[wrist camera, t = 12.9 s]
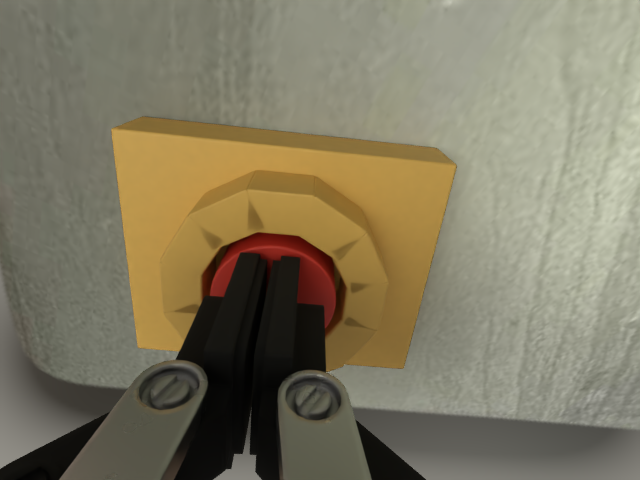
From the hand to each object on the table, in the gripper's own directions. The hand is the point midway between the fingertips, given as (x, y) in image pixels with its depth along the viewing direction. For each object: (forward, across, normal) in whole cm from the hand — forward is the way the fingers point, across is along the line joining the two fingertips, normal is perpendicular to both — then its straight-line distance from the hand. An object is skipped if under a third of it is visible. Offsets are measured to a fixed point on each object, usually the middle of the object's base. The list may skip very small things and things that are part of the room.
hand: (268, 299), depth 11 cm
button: (+2, 0, 0) cm, 2 cm away
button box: (+4, 0, 0) cm, 4 cm away
